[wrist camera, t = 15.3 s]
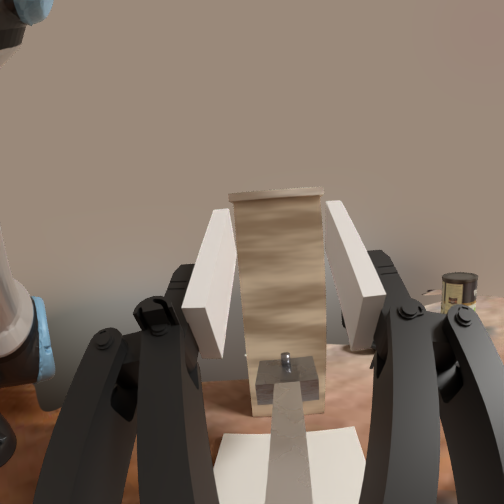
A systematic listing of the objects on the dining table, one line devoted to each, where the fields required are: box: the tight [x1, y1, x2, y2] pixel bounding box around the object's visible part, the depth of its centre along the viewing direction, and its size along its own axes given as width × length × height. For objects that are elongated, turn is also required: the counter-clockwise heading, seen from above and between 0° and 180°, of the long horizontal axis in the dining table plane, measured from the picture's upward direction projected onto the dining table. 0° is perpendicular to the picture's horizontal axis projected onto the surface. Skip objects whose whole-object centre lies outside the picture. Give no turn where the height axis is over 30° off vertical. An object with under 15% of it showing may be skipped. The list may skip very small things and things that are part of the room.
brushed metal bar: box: [255, 352, 319, 504], centre depth 18 cm, size 24×6×4 cm, turn 175°
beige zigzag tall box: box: [228, 187, 326, 417], centre depth 42 cm, size 12×12×33 cm
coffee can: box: [441, 272, 478, 314], centre depth 56 cm, size 10×10×14 cm
